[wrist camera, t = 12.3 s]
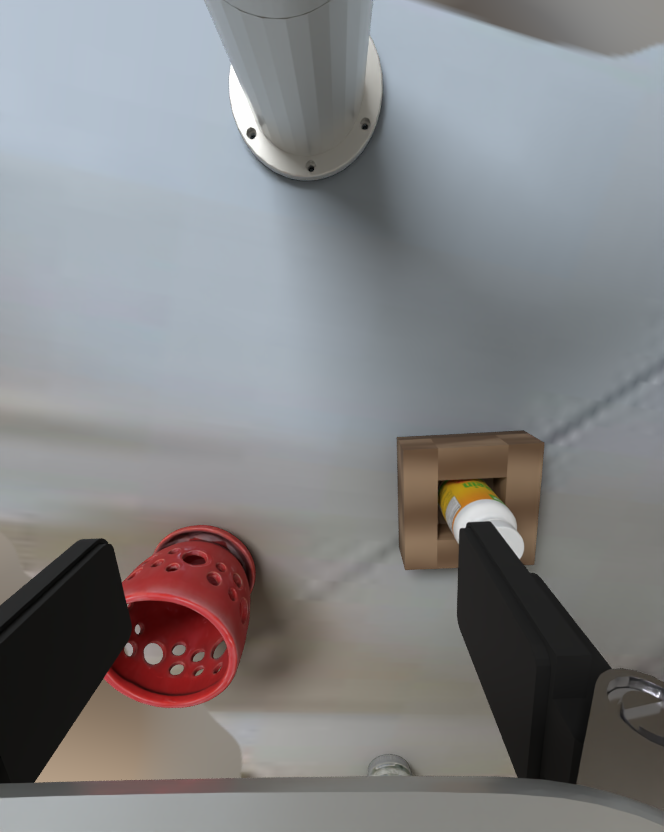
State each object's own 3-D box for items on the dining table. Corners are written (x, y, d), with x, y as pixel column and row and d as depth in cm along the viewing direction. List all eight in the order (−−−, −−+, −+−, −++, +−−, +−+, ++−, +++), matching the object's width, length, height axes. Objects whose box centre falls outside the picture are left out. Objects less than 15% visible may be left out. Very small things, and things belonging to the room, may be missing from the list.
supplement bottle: (494, 477, 38) (544, 528, 29) (476, 522, 39) (519, 584, 30) (444, 464, 38) (479, 511, 28) (428, 510, 39) (456, 569, 30)
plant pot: (130, 550, 42) (51, 637, 31) (219, 494, 40) (171, 564, 29) (200, 629, 45) (151, 736, 33) (287, 580, 43) (268, 676, 31)
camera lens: (417, 780, 51) (431, 861, 43) (373, 789, 51) (379, 871, 44) (404, 747, 49) (416, 825, 41) (359, 757, 50) (363, 836, 42)
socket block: (396, 437, 38) (403, 450, 34) (523, 430, 38) (544, 442, 34) (399, 546, 42) (405, 569, 38) (515, 541, 41) (534, 564, 37)
